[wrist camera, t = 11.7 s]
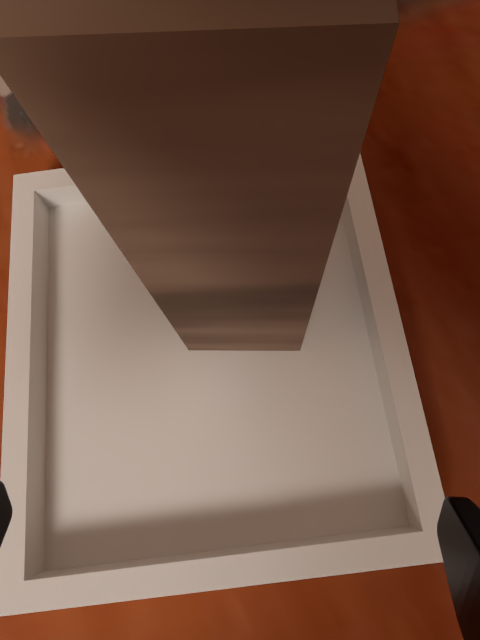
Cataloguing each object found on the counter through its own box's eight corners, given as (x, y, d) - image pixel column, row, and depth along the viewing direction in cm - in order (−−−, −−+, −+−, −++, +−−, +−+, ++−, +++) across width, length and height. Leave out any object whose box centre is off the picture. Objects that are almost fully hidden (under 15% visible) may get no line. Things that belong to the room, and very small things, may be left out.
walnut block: (300, 350, 19) (399, 23, 5) (188, 350, 19) (-25, 38, 5) (297, 249, 21) (368, -233, 6) (194, 250, 21) (40, -208, 7)
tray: (433, 546, 17) (459, 560, 15) (30, 596, 18) (-6, 617, 15) (345, 162, 23) (354, 127, 21) (39, 204, 23) (13, 175, 21)
